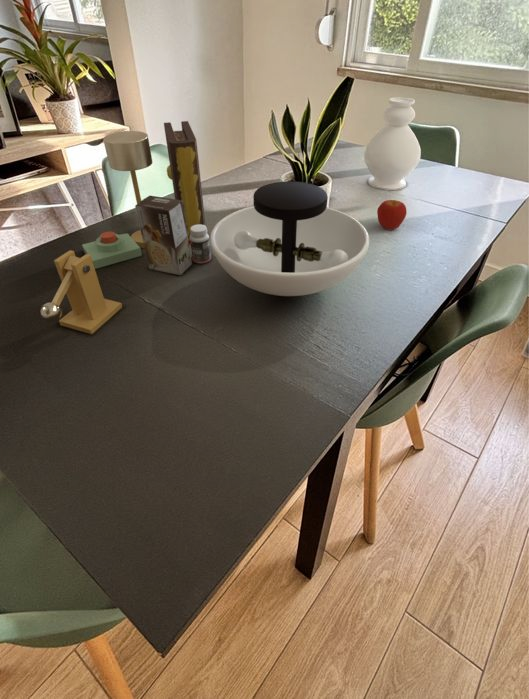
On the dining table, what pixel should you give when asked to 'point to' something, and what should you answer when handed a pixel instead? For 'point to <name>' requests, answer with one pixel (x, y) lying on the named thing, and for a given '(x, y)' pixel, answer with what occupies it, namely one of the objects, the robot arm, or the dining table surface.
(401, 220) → the apple
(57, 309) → the lamp switch
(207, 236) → the pill bottle
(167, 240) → the coffee box
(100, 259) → the green push button base
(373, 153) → the decorative vase
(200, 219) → the book
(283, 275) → the light fixture
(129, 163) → the desk lamp
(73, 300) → the switch bracket
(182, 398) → the dining table surface
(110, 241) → the power button
